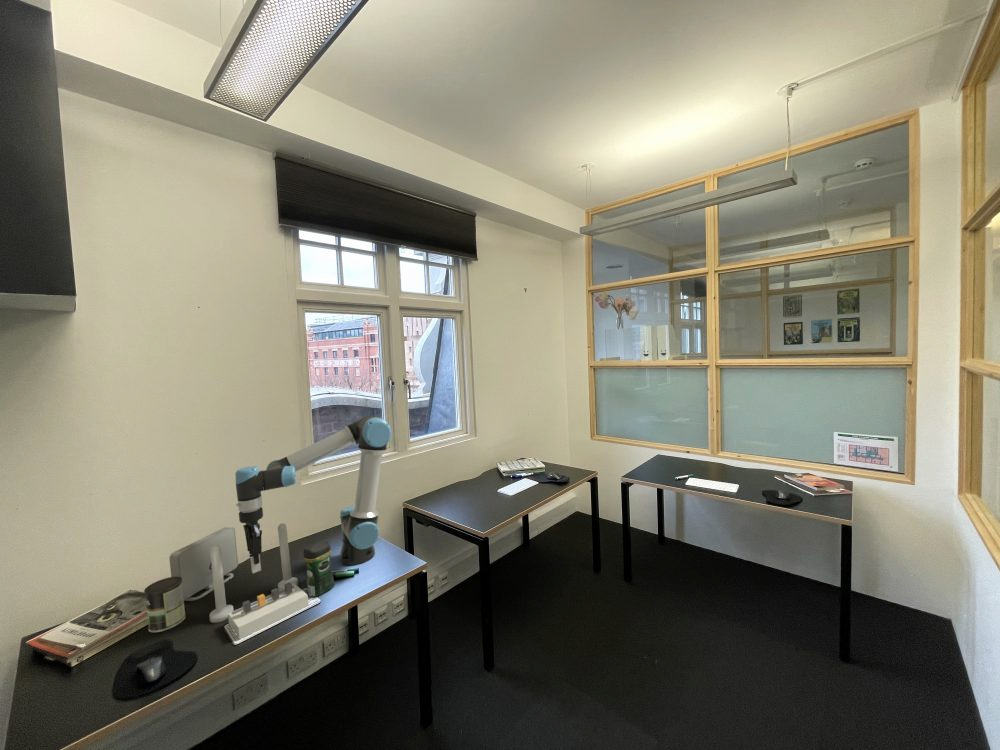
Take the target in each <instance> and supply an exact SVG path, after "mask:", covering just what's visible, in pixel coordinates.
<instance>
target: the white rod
mask: <svg viewBox="0 0 1000 750" xmlns="http://www.w3.org/2000/svg"><path fill="white" fill-rule="evenodd" d="M277 532H278V533H277V534H278V544H279V552H280V563H281V572H282V580H281V581H279V582H278V584H277V589H278V590H279V591H280V590H283V589H285V584H287V583H289V582H290V583H291V584H292V585H294V584H295V585H296V586H298V587H299V582H298V581H299V580H298V578H297V577H296V576H295V577H293V576H292V570H291V569H292V568H291V560H290V559H291V558H290V549H289V539H288V530H287V524H286V523H283V522H282V523H279V524H278V526H277Z"/></svg>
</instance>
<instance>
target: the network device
mask: <svg viewBox="0 0 1000 750" xmlns="http://www.w3.org/2000/svg"><path fill="white" fill-rule="evenodd" d="M214 545H219V546H220V548H221V557H222V567H223V577H227V578H224V584H225V583H227V582H228V581H229V579H230V580H231V579H232V578H234V573H232V571H234V570H235V569H236V568H238V566H239V560H238V559H239V558H238V549H237V548H238V546H237V537H236V528H235V527H232V526H230V527H228V526H225V527H223V528H221V529H219V530H217V531H215V532H212V533H210V534H208V535H206V536H204V537H202V538H200V539H198V540H196V541H193V542H192V543H190V544H188V545H186V546H182V547H181V548H179V549H178V550H175V551H173V552H172V553H171V554H170V556H169V557H168V558H169V568H170V577H181V578H182V588H183V598H184V602H193V601H197V600H199V599H201V598H203V597H205V596H207V595H208V594H209V593H211V592H212V591H214V583H213V573H212V563H211V553H210V549H211V548H212V547H213V546H214ZM203 589H204V590H206V591H205V592H203V593H201V594H200V595H198V596H195V597H192V596H193V595H195V594H196V593H198V592H200V591H202V590H203Z"/></svg>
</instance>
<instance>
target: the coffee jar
mask: <svg viewBox="0 0 1000 750" xmlns="http://www.w3.org/2000/svg"><path fill="white" fill-rule="evenodd" d="M331 553H332V548H331V544H330V542H329V541H328V540H324V539H321V540H320V541H318V542H316V543H313V544H311V545H309V546H307V547H304V548H303V560H304V562H305V565H306V594H307V595H309V596H310V597H319V596H322V595H324V594H325V593H326V592H327V593H328V592H329V591H330V590H331V589H333V588H334V587H335V579H334V578H335V577H334V574H333V569H332V564H331Z"/></svg>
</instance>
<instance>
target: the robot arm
mask: <svg viewBox="0 0 1000 750" xmlns="http://www.w3.org/2000/svg"><path fill="white" fill-rule="evenodd" d="M391 438H392V428H391V426H390V424H389V423H388V422H387V421H386V420H385V419H384V418H382V417H377V416H375V415H366V416H363V417H361V418H359V419H357V420H355V421H353V422H352V423H349V424H347V425H346V426H345V427H344V429H342V430H340V431H338V432H336V433H333V434H331V435H329V436H327V437H325V438H323V439H321V440H318V441H316V442H314V443H312V444H310V445H308V446H305V447H303V448H301V449H300V450H297V451H295V452H293V453H291V454H288V455H287V456H285V457H282V458H280V459H275V460H271V461H270V462H269V463H268V465H267V467H266V469H265V470H260V468H259V467H258V466H257V465H252V466H246V467H245V466H244V467H242V468H239V469H237V470H236V471H235V489H236V497H237V498H236V499H237V503H236V507H237V508H238V511H239V512H238V518H239V523H241V524H243V530H244V535H245V541H246V548H247V549H246V550H247V552H248V553H249V558H250V567H251V568H250V569H251V573H252V574H255V573H257V572H261V571H262V566H261V564H262V563H261V555H260V554H262V553H263V551H262V534H263V530H262V529H260V528H261V525H260V523H259V522H258V521H260V520H261V519H263V517H264V510H263V507H262V506H263V499H262V498H263V497H262V492H263V491H264V492H265V491H269V490H274V489H280V488H281V489H282V488H287V487H290V486H294V485H295V484H296V482H297V476H296V474H297V472H298V471H300V470H303V469H304V468H307V467H308V466H310V465H311V466H312V464H314V463H316V462H319V461H321V460H323V459H325V458H327V457H329V456H330V455H332V454H335V453H337V452H339V451H342V450H343V449H345V448H348V447H349V446H351V445H353V446H356V445H358V446H357V448H358V450H359V451H360V460H359V461H360V462H359V470H358V477H357V483H356V484H357V485H356V490H355V491H356V492H355V500H354V505H350V506H348V507H344V508H342V510H340V513H339V514H340V515H339V518H340V526H341V527H340V528H341V539H342V545H341V549H340V552H339V563H340V564H342V565H346V566H355V565H360V564H361V565H362V564H364V563H366V562H368V561H370V560H371V559H373V558H374V557H375V555H376V549H375V545H374V544H376V542H377V541H378V539H379V536H380V529H379V528H380V527H379V526H378V521H379V520H378V519H379V512H378V511H377V510H376V507H377V506H376V505H377V497H378V491H379V484H380V483H379V482H380V476H381V475H380V474H381V467H382V458H383V454H384V452H386V451H387V447H388V443H389V442H390V440H391Z"/></svg>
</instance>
